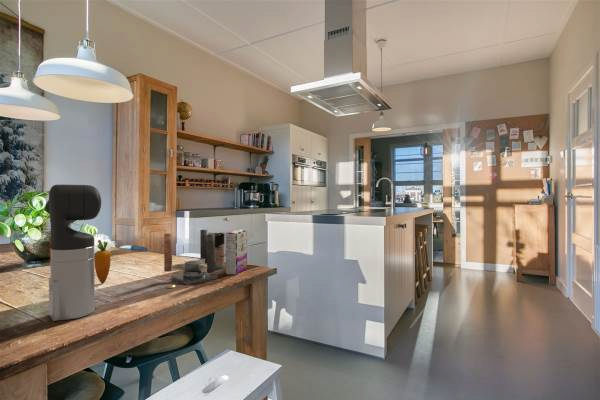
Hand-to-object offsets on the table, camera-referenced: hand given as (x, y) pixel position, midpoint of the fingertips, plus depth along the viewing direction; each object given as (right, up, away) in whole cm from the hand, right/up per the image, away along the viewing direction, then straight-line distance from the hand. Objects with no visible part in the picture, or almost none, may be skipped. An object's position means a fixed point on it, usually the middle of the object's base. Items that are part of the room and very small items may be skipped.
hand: (57, 252), depth 157 cm
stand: (+78, -3, -42) cm, 89 cm away
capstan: (+81, 0, -41) cm, 91 cm away
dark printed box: (+84, -3, -22) cm, 86 cm away
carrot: (+51, -3, -47) cm, 70 cm away
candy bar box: (+94, -3, -29) cm, 98 cm away
